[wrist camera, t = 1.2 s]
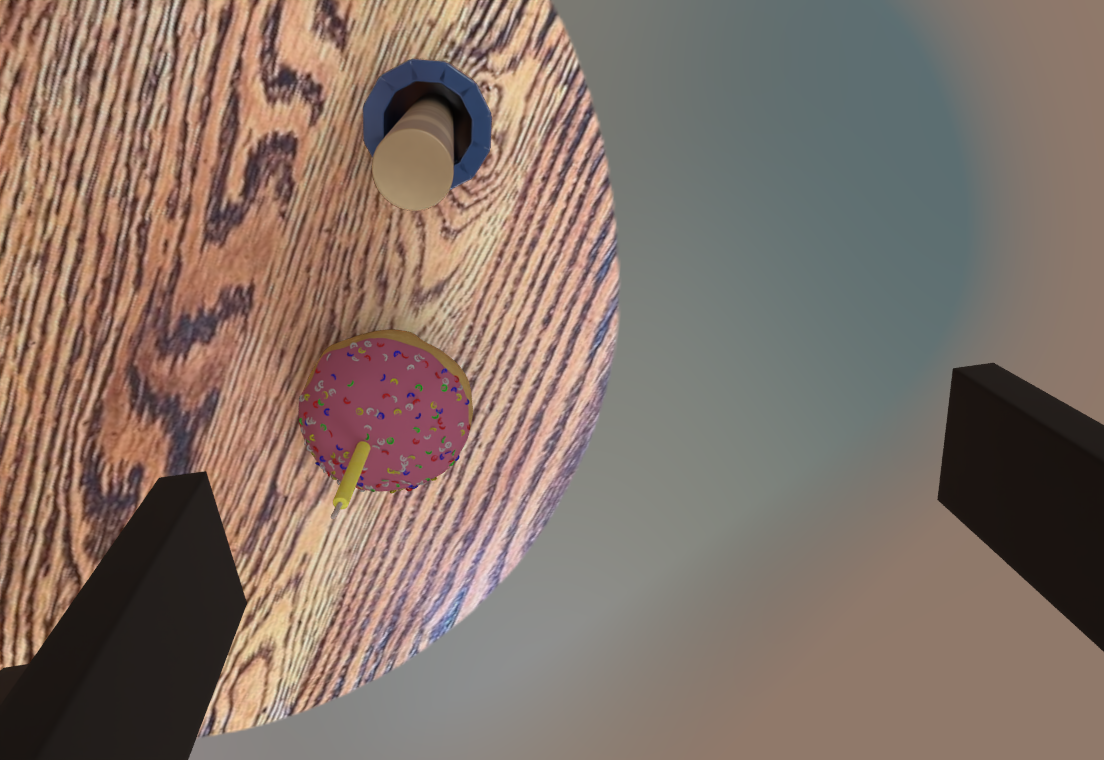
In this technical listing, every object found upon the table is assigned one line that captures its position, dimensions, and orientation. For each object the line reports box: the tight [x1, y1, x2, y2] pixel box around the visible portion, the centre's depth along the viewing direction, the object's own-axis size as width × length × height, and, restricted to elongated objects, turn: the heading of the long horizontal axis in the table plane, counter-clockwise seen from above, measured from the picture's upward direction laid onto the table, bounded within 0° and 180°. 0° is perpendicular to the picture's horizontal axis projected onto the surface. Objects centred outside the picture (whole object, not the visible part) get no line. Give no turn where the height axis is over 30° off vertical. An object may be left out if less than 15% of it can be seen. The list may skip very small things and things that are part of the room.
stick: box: [372, 94, 454, 211], centre depth 28 cm, size 2×2×20 cm
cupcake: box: [299, 329, 473, 519], centre depth 37 cm, size 9×8×12 cm
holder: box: [363, 59, 492, 190], centre depth 34 cm, size 5×5×8 cm
